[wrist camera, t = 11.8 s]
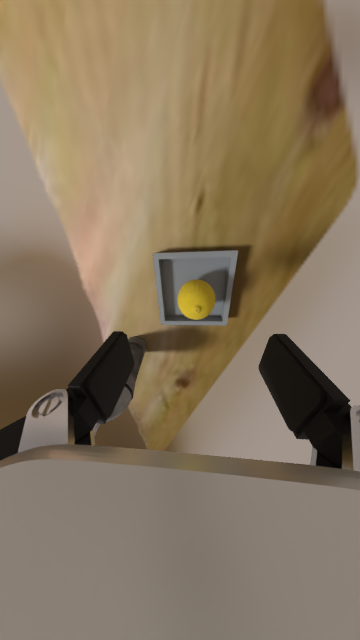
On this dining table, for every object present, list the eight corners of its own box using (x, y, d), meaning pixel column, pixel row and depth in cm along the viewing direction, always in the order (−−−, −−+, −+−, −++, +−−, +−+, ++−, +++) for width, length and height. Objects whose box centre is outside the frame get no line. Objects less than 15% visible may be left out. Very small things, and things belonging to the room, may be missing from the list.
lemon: (180, 305, 25) (175, 328, 18) (179, 274, 23) (173, 288, 16) (210, 305, 25) (217, 329, 18) (213, 274, 22) (222, 288, 15)
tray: (156, 252, 22) (152, 253, 20) (233, 249, 21) (238, 250, 19) (163, 318, 28) (161, 324, 26) (224, 318, 27) (226, 325, 24)
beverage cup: (139, 326, 29) (60, 448, 12) (158, 350, 32) (116, 477, 15) (114, 338, 31) (17, 456, 14) (134, 359, 34) (73, 480, 17)
